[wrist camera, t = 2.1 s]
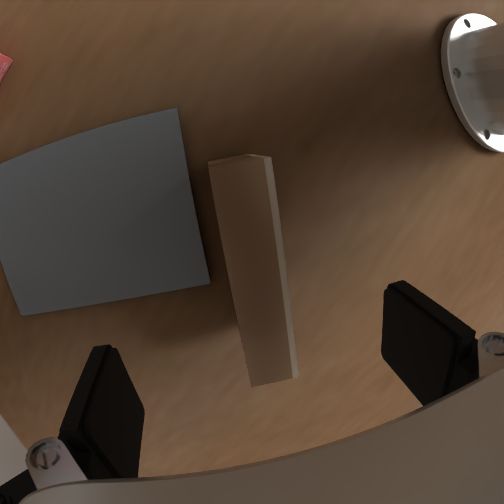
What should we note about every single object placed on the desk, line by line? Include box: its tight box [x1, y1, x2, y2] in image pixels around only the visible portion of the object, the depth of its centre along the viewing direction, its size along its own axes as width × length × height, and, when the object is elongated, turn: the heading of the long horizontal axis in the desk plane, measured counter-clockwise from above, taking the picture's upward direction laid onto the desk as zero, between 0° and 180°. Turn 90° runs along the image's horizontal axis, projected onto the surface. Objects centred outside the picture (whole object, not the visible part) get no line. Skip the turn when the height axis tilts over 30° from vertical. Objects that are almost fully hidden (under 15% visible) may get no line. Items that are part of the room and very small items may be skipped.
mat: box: [0, 108, 211, 316], centre depth 18 cm, size 15×11×1 cm
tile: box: [208, 154, 298, 387], centre depth 17 cm, size 2×11×7 cm, turn 9°
